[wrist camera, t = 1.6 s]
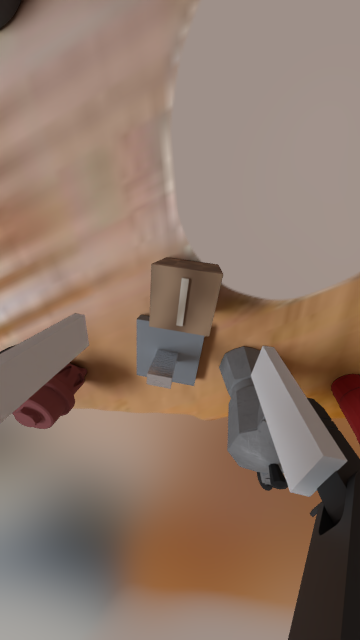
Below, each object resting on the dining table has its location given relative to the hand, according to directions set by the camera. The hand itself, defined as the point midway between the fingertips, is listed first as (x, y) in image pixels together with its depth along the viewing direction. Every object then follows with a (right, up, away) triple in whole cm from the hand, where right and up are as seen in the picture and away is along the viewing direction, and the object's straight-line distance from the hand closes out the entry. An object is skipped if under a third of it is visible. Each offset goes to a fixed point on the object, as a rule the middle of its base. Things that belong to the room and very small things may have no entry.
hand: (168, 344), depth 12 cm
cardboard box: (+2, +7, +15) cm, 17 cm away
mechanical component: (-24, -10, +27) cm, 38 cm away
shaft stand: (-1, -4, +21) cm, 21 cm away
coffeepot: (+13, -8, +21) cm, 26 cm away
